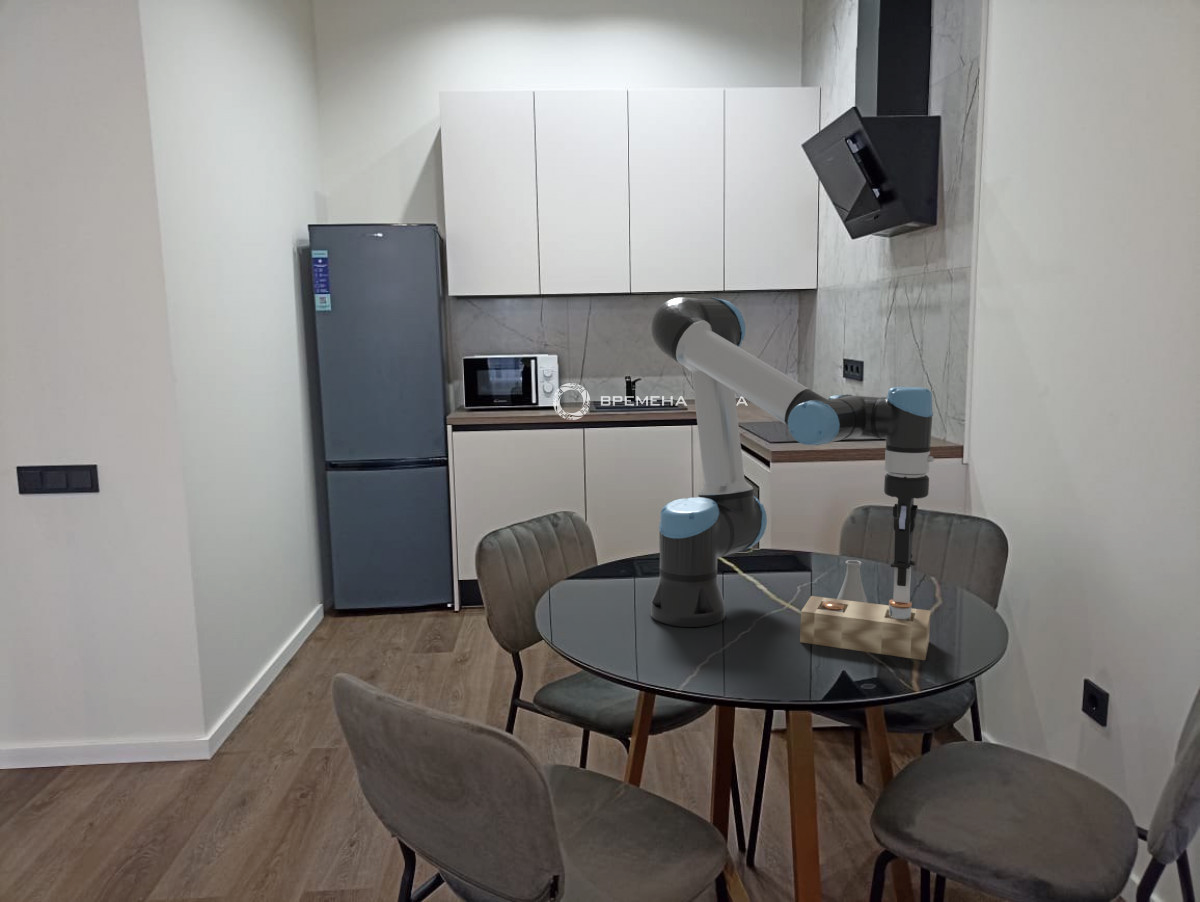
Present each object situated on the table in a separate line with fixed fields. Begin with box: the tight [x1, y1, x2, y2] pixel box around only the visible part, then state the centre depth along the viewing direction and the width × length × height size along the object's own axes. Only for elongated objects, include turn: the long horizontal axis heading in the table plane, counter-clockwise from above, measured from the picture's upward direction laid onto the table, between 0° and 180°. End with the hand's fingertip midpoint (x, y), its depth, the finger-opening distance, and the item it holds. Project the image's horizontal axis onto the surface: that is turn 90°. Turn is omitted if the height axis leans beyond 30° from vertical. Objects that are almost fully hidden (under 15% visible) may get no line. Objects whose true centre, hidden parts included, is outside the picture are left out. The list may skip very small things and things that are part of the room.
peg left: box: [822, 601, 844, 612], centre depth 164 cm, size 4×4×6 cm
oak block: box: [799, 595, 932, 661], centre depth 162 cm, size 22×10×6 cm, turn 66°
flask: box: [836, 559, 869, 603], centre depth 181 cm, size 7×7×10 cm
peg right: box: [888, 598, 913, 621], centre depth 159 cm, size 4×4×6 cm
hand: (901, 601), depth 158 cm, fingers closed
